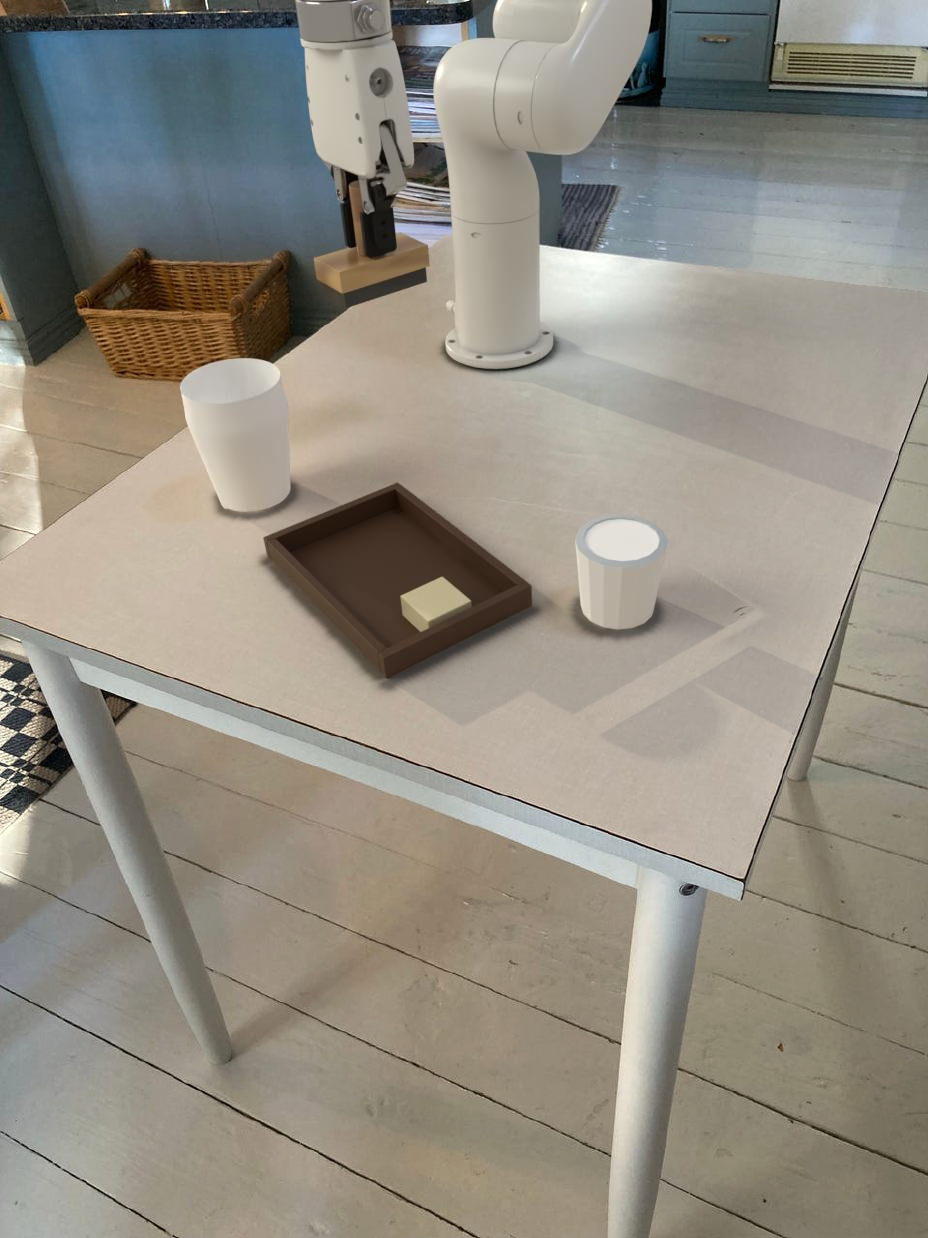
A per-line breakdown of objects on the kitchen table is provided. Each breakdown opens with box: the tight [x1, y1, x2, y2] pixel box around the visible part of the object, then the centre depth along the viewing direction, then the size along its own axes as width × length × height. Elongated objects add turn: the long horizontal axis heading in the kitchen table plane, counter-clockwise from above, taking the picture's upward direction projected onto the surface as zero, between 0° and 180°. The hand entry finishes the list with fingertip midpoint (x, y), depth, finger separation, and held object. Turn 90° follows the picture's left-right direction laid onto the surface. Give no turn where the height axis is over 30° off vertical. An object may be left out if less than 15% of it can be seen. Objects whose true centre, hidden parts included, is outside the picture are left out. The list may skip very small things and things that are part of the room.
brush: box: [313, 180, 430, 309], centre depth 91 cm, size 5×10×10 cm, turn 126°
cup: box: [179, 357, 291, 513], centre depth 90 cm, size 9×9×12 cm
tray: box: [262, 482, 533, 680], centre depth 82 cm, size 20×14×3 cm
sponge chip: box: [400, 577, 471, 632], centre depth 77 cm, size 4×4×2 cm
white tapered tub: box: [574, 513, 669, 630], centre depth 76 cm, size 7×7×7 cm
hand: (371, 246), depth 92 cm, fingers closed on brush, 2 cm apart
